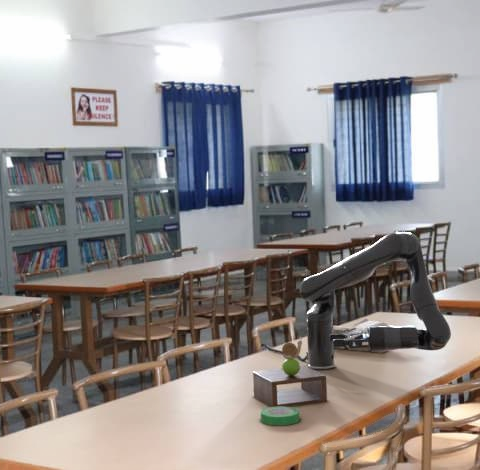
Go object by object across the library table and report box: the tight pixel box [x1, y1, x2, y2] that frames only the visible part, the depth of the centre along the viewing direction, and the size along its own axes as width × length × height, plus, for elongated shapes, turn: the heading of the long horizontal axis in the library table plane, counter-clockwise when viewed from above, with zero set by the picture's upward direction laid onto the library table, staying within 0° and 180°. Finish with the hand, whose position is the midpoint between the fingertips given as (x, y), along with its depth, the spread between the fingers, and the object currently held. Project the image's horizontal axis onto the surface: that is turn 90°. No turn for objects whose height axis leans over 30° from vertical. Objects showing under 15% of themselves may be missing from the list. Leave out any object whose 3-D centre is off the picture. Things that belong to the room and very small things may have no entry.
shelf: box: [252, 365, 328, 407], centre depth 293 cm, size 16×18×8 cm
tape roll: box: [260, 406, 300, 426], centre depth 270 cm, size 11×11×3 cm
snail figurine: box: [281, 336, 303, 376], centre depth 290 cm, size 5×6×12 cm
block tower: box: [333, 325, 389, 354], centre depth 367 cm, size 8×8×29 cm
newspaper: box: [350, 318, 389, 329], centre depth 396 cm, size 35×12×4 cm, turn 143°
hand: (331, 340), depth 291 cm, fingers open, 8 cm apart
